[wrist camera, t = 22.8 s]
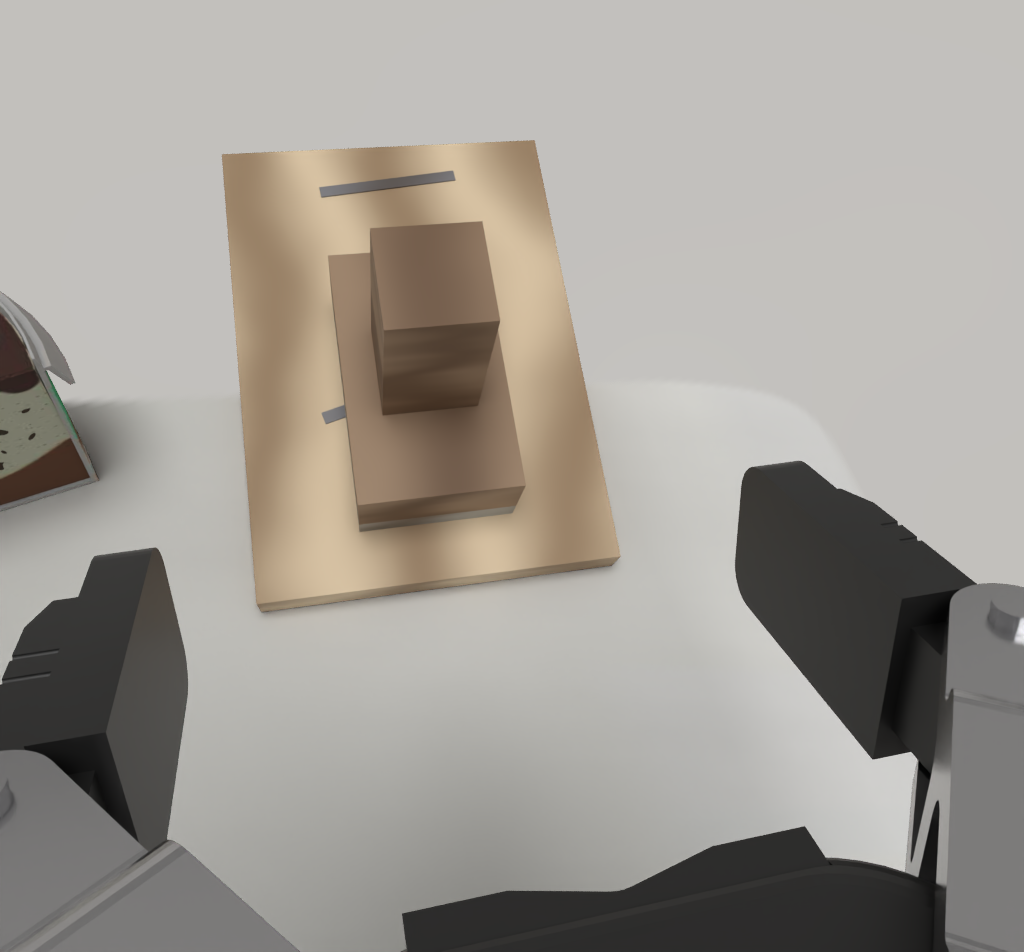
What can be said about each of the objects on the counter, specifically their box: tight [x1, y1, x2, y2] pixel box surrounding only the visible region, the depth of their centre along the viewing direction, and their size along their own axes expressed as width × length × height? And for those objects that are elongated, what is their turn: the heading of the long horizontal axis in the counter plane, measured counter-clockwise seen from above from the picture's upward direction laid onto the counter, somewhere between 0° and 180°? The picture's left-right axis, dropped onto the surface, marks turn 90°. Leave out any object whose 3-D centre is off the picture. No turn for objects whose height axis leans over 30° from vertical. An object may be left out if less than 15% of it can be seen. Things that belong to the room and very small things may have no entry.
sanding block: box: [328, 221, 526, 532], centre depth 32 cm, size 6×10×10 cm, turn 10°
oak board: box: [222, 140, 620, 612], centre depth 39 cm, size 14×20×2 cm
